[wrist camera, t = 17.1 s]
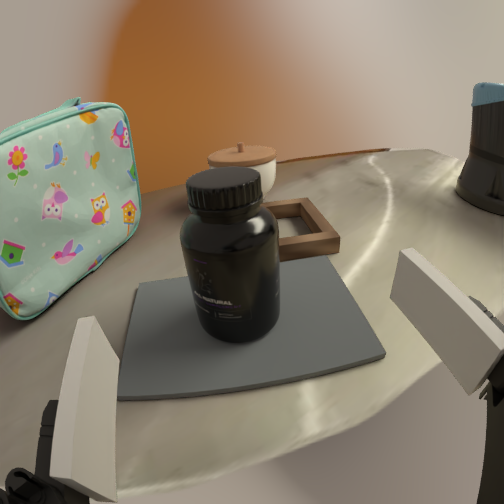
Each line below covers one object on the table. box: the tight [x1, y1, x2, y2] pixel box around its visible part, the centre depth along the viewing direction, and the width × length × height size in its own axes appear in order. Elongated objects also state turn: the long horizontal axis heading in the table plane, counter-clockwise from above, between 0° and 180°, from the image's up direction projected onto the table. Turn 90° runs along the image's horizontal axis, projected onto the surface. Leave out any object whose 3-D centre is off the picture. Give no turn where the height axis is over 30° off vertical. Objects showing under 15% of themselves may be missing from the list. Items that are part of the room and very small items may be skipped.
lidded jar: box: [208, 142, 276, 199], centre depth 47 cm, size 11×11×9 cm
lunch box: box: [0, 97, 141, 320], centre depth 30 cm, size 27×10×21 cm, turn 160°
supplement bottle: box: [180, 166, 280, 343], centre depth 22 cm, size 7×7×12 cm
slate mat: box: [117, 255, 386, 400], centre depth 25 cm, size 20×14×1 cm
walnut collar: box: [261, 198, 340, 262], centre depth 37 cm, size 12×12×2 cm
